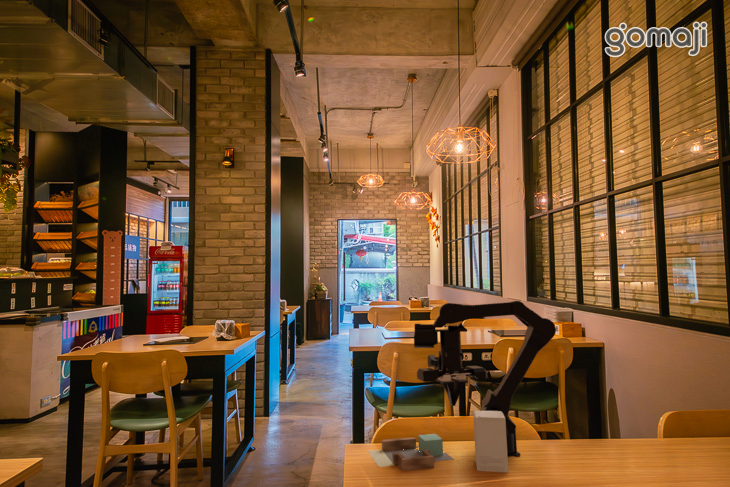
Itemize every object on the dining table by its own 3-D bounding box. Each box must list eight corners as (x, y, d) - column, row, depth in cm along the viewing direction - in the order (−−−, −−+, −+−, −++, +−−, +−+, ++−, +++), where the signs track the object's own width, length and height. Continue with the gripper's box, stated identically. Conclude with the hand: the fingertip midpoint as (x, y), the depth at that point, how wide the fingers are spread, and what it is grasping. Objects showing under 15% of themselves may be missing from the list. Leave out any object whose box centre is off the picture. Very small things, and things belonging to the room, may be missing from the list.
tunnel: (414, 447, 120) (414, 437, 121) (436, 468, 105) (435, 456, 105) (381, 450, 118) (381, 440, 119) (399, 472, 103) (398, 460, 103)
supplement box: (509, 474, 101) (506, 418, 103) (476, 472, 103) (474, 416, 104) (505, 462, 108) (502, 410, 110) (475, 461, 110) (472, 409, 111)
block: (435, 449, 118) (435, 433, 119) (443, 455, 113) (442, 439, 114) (418, 450, 117) (418, 435, 118) (425, 456, 112) (424, 440, 113)
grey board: (436, 445, 122) (436, 444, 122) (454, 460, 110) (453, 459, 110) (367, 452, 117) (367, 450, 117) (378, 468, 106) (378, 466, 106)
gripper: (468, 344, 130) (470, 397, 128) (409, 346, 126) (411, 401, 124) (486, 347, 120) (489, 406, 117) (423, 350, 115) (425, 410, 113)
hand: (453, 405), depth 118 cm, fingers closed
